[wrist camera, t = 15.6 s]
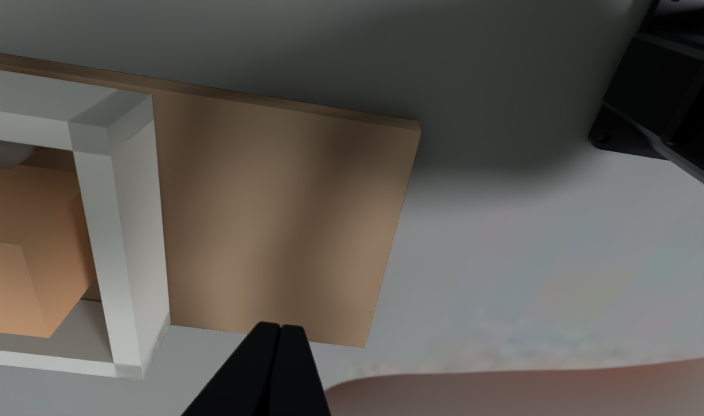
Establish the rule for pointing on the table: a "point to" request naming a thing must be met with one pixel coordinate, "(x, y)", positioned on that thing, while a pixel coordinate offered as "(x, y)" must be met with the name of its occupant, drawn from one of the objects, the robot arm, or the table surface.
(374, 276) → the seat plate
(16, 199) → the block
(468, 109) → the table surface
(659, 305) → the table surface
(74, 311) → the frame
